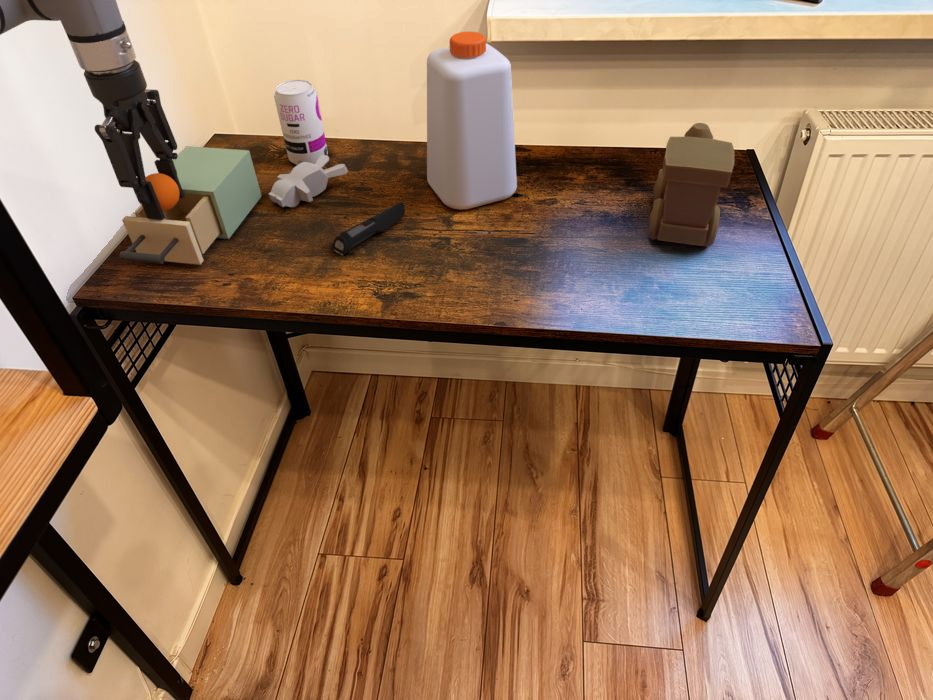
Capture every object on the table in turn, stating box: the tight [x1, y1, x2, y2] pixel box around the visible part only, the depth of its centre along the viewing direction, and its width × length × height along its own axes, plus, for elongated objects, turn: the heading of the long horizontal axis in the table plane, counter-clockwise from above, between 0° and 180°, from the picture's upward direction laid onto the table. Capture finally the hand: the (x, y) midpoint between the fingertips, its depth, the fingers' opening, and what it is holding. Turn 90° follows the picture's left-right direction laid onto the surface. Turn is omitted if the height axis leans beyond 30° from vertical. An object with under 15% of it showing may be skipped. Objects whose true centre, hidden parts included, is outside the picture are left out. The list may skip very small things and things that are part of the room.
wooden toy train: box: [647, 122, 735, 248], centre depth 113 cm, size 20×11×17 cm, turn 164°
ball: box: [145, 172, 180, 211], centre depth 109 cm, size 6×6×6 cm
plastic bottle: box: [426, 31, 518, 210], centre depth 120 cm, size 15×15×28 cm
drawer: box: [118, 193, 222, 266], centre depth 113 cm, size 20×11×8 cm, turn 169°
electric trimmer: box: [332, 201, 406, 256], centre depth 118 cm, size 4×16×3 cm, turn 137°
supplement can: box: [273, 79, 329, 166], centre depth 135 cm, size 8×8×15 cm
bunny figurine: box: [268, 154, 349, 208], centre depth 128 cm, size 10×5×15 cm
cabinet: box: [172, 145, 263, 240], centre depth 122 cm, size 15×13×10 cm
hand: (166, 206), depth 110 cm, fingers closed on ball, 6 cm apart
